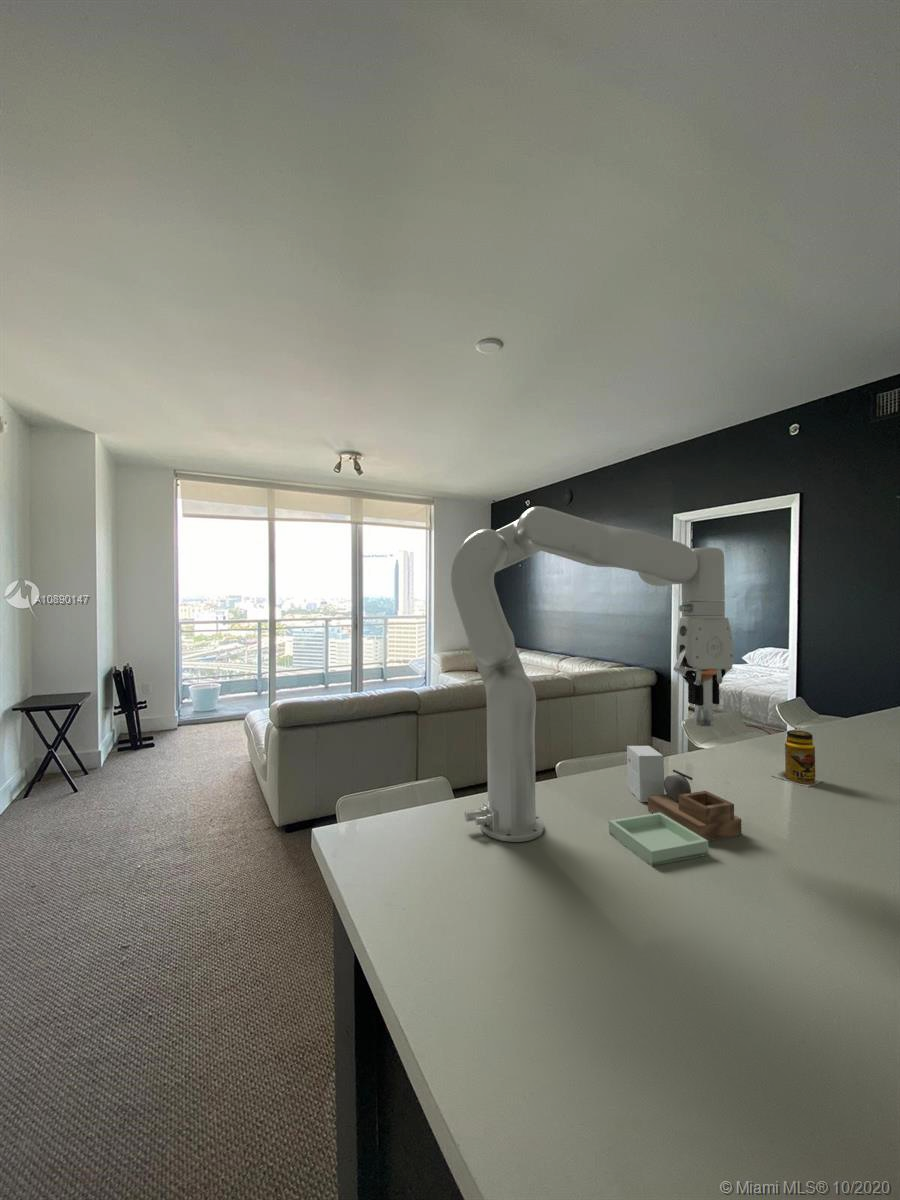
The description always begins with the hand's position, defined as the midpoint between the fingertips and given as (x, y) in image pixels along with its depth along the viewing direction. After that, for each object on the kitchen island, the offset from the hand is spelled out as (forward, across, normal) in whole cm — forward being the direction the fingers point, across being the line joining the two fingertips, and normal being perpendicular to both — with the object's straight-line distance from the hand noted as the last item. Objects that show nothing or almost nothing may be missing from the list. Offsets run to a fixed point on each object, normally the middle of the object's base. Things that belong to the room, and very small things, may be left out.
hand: (703, 702), depth 93 cm
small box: (+25, 0, +17) cm, 31 cm away
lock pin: (+4, 0, 0) cm, 4 cm away
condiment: (+25, +43, +14) cm, 52 cm away
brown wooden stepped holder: (+25, 0, +3) cm, 25 cm away
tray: (+25, -13, -2) cm, 28 cm away
